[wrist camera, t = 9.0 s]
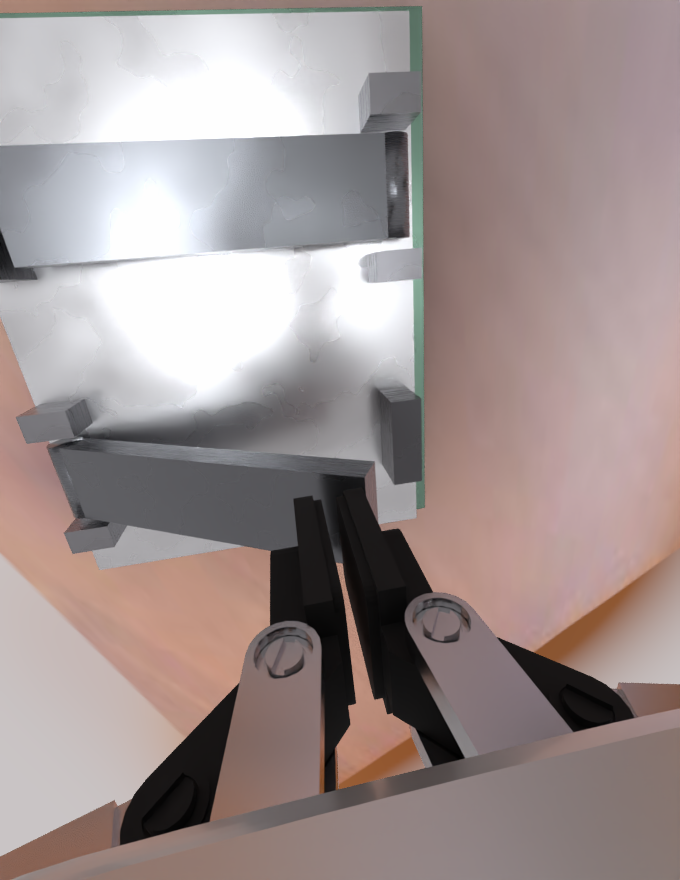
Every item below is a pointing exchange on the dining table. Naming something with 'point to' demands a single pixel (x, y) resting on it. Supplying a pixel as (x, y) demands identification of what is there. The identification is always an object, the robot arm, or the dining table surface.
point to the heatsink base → (226, 274)
